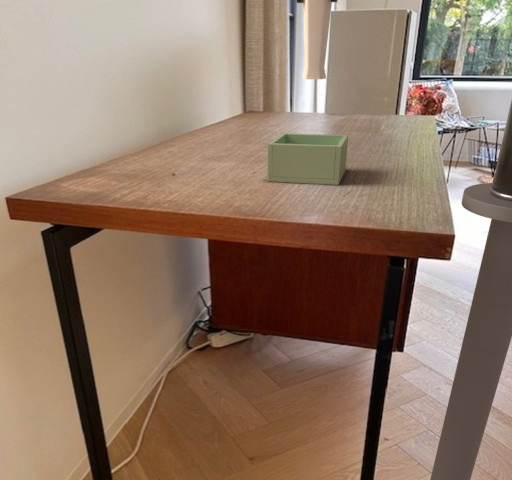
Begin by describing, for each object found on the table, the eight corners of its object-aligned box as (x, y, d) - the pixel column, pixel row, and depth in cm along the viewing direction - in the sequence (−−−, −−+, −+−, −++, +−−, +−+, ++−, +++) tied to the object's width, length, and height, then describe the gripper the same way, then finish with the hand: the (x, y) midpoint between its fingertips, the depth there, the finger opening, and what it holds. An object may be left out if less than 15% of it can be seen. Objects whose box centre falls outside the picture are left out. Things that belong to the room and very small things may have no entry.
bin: (345, 170, 89) (348, 135, 86) (338, 185, 79) (341, 146, 76) (281, 167, 92) (282, 133, 89) (267, 181, 82) (267, 143, 79)
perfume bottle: (328, 78, 82) (335, -36, 74) (327, 79, 78) (334, -40, 71) (300, 78, 83) (304, -35, 75) (298, 79, 79) (302, -39, 71)
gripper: (265, -156, 65) (265, 2, 74) (377, -168, 62) (363, -2, 71) (277, -138, 72) (276, 5, 80) (380, -148, 68) (367, 2, 77)
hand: (317, 1), depth 75 cm, fingers closed on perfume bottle, 4 cm apart
